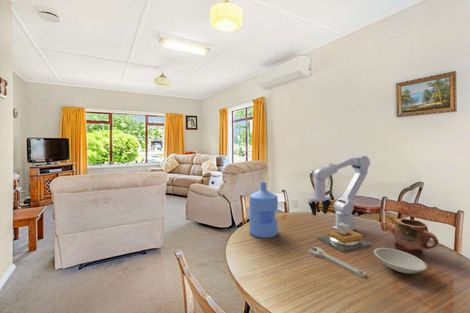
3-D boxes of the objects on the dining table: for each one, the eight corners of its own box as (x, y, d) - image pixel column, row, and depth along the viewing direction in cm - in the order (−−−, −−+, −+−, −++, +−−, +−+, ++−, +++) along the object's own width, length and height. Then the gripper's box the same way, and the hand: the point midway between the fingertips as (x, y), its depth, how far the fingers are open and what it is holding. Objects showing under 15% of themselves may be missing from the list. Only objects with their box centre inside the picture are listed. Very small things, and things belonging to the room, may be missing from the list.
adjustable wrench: (367, 277, 84) (367, 272, 84) (355, 281, 81) (355, 277, 81) (316, 249, 106) (316, 245, 106) (305, 252, 103) (305, 248, 103)
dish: (364, 261, 94) (364, 249, 94) (392, 257, 97) (392, 245, 97) (406, 287, 77) (406, 272, 77) (437, 280, 80) (438, 266, 80)
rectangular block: (341, 236, 115) (341, 222, 115) (349, 238, 112) (349, 224, 112) (337, 238, 113) (337, 224, 113) (345, 240, 110) (345, 226, 110)
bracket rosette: (344, 233, 123) (344, 225, 123) (371, 245, 108) (371, 236, 108) (317, 239, 117) (318, 230, 117) (342, 252, 102) (343, 242, 102)
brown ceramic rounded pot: (448, 261, 94) (449, 228, 93) (429, 267, 89) (430, 232, 89) (399, 242, 112) (399, 214, 112) (381, 246, 108) (381, 217, 108)
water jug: (243, 233, 125) (243, 183, 124) (260, 225, 137) (260, 179, 136) (266, 241, 115) (266, 186, 113) (283, 232, 126) (283, 182, 125)
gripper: (324, 188, 134) (324, 210, 134) (304, 190, 129) (304, 213, 129) (334, 190, 127) (333, 214, 128) (313, 192, 122) (312, 217, 123)
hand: (319, 214), depth 128 cm, fingers open, 7 cm apart
